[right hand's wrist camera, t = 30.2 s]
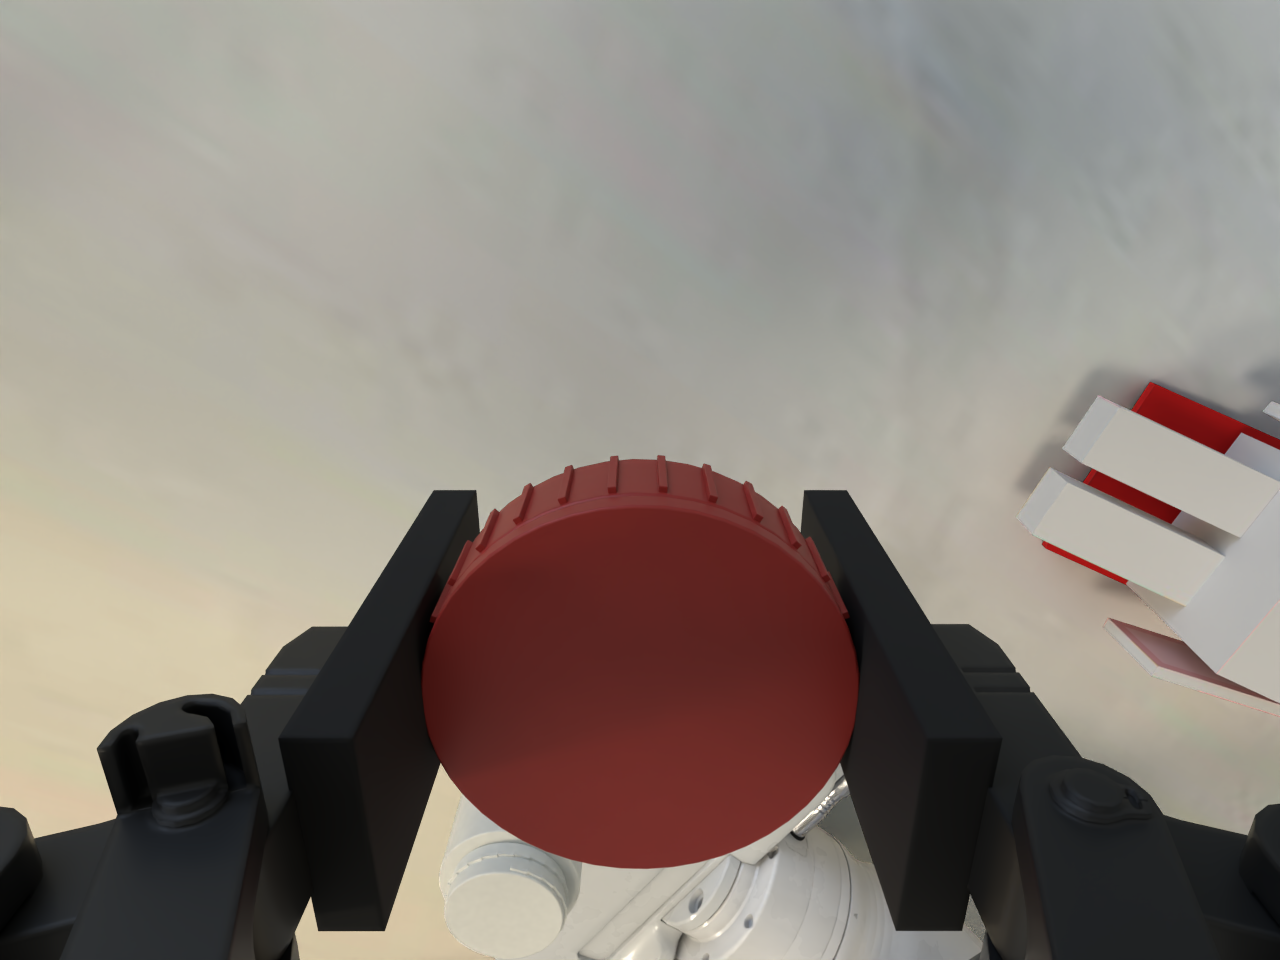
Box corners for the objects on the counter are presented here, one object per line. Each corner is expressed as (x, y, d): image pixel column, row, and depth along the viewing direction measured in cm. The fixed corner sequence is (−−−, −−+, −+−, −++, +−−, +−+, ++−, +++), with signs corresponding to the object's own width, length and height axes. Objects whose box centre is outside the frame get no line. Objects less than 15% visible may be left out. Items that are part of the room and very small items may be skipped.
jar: (582, 727, 45) (555, 981, 31) (487, 703, 44) (416, 951, 30) (610, 648, 43) (594, 881, 29) (510, 622, 42) (446, 847, 28)
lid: (444, 432, 11) (411, 478, 9) (873, 472, 11) (912, 522, 10) (442, 775, 13) (416, 857, 12) (800, 803, 13) (822, 888, 12)
